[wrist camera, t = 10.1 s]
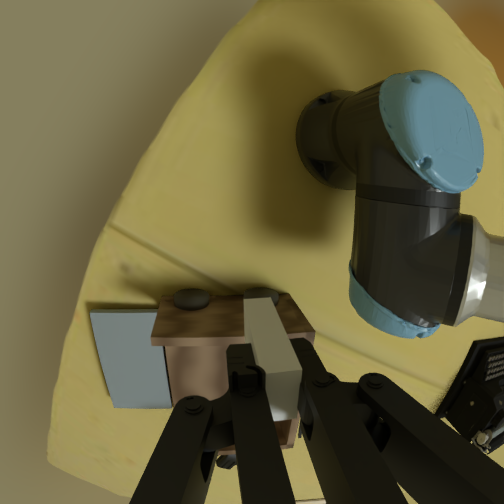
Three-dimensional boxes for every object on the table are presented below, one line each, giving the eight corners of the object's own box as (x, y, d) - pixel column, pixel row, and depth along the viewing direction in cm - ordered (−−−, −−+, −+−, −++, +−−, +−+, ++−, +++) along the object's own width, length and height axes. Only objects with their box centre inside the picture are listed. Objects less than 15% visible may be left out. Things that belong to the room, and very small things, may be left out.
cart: (289, 286, 46) (316, 323, 35) (276, 406, 53) (292, 451, 41) (161, 288, 43) (149, 328, 31) (176, 411, 50) (174, 459, 38)
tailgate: (158, 312, 42) (89, 312, 39) (171, 408, 47) (114, 407, 44) (159, 306, 44) (92, 307, 41) (171, 401, 49) (115, 400, 46)
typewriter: (515, 334, 66) (561, 366, 43) (482, 398, 73) (520, 434, 49) (473, 340, 60) (533, 386, 36) (432, 416, 67) (475, 466, 43)
